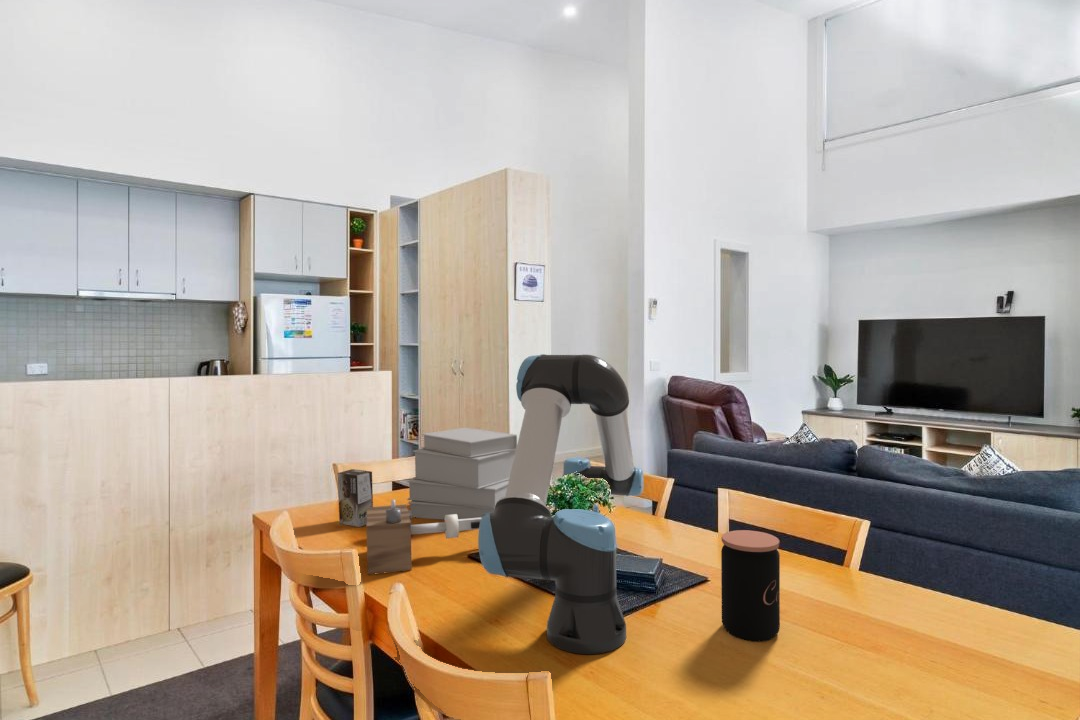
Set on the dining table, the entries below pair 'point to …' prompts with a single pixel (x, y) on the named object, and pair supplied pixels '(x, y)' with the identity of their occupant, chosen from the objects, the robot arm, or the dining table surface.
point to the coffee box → (354, 496)
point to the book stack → (461, 473)
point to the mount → (388, 541)
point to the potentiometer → (393, 514)
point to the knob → (439, 527)
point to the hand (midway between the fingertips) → (457, 525)
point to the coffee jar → (750, 585)
